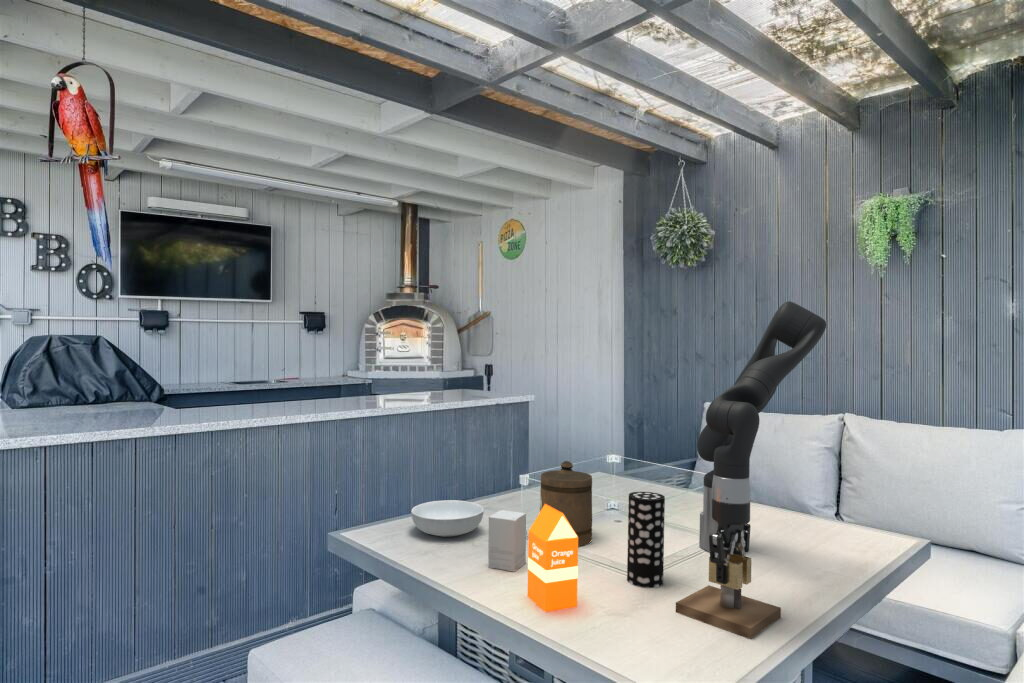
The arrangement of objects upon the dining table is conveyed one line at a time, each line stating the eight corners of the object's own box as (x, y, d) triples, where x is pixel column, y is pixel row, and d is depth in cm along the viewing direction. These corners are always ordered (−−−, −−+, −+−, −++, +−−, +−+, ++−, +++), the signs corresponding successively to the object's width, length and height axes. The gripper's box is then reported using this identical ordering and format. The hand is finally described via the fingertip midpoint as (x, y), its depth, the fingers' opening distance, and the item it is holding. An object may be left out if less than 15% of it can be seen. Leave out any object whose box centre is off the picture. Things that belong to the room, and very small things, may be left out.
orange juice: (544, 612, 129) (546, 515, 129) (526, 596, 137) (528, 504, 137) (577, 606, 132) (579, 511, 132) (558, 591, 140) (560, 501, 140)
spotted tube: (642, 590, 142) (644, 501, 142) (619, 577, 149) (621, 493, 149) (670, 584, 146) (672, 498, 146) (647, 572, 153) (648, 490, 153)
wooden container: (561, 528, 188) (563, 455, 188) (602, 539, 178) (603, 462, 178) (528, 538, 178) (529, 461, 178) (569, 551, 167) (570, 469, 167)
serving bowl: (422, 520, 194) (422, 498, 194) (488, 524, 191) (489, 501, 191) (401, 541, 173) (401, 516, 173) (475, 546, 170) (476, 520, 170)
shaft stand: (675, 612, 130) (676, 578, 130) (708, 594, 140) (709, 562, 140) (750, 638, 119) (751, 602, 119) (780, 617, 129) (781, 583, 129)
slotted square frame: (708, 581, 129) (709, 557, 130) (722, 573, 134) (723, 550, 134) (737, 589, 125) (737, 564, 125) (751, 582, 129) (751, 557, 130)
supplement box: (526, 563, 158) (527, 512, 158) (514, 572, 151) (515, 520, 151) (500, 558, 161) (501, 509, 161) (486, 567, 154) (487, 516, 154)
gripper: (732, 507, 122) (731, 593, 122) (763, 495, 132) (762, 575, 132) (697, 499, 127) (695, 582, 127) (729, 489, 137) (728, 565, 137)
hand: (729, 578), depth 130 cm, fingers closed on slotted square frame, 6 cm apart
